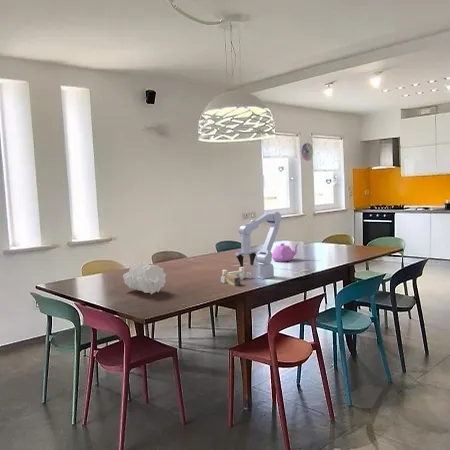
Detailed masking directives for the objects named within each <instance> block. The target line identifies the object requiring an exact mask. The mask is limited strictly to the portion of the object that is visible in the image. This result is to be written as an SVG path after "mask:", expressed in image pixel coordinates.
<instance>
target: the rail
mask: <svg viewBox="0 0 450 450" xmlns="http://www.w3.org/2000/svg"><path fill="white" fill-rule="evenodd" d="M222 277H225V281H226V283H225V284H228V285H230V286H234V287H236V286H237V285H238V286H241V280H240V277H238V276H234V275H231V274H223V276H222ZM238 286H237V287H238Z"/></svg>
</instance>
